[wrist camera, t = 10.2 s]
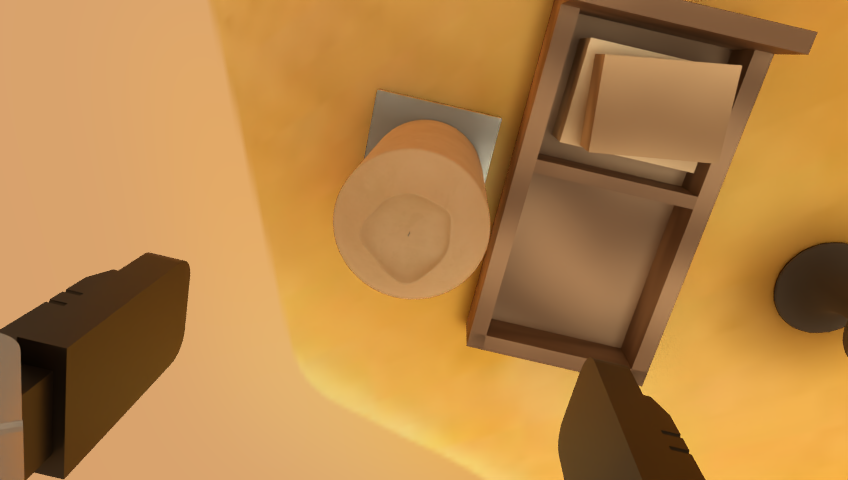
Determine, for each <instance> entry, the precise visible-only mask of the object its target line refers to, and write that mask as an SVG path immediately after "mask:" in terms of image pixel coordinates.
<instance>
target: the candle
mask: <svg viewBox="0 0 848 480" xmlns="http://www.w3.org/2000/svg"><path fill="white" fill-rule="evenodd" d="M333 227H334V235H335V240H336V244H337V246H338V249H339V252H340V254H341V256H342V257H343V259H344V261H345V263H346V264H347V265H348V267H349V268H350V269H351V271H352V272H353V273H354V274H355V275H356V276H357V277H358V278H359V279H360V280H362V281H363V282H364V283H365V284H367V285H368V286H370V287H371V288H373V289H375V290H377V291H379V292H381V293H384V294H387V295H389V296H393V297H397V298H404V299H424V298H431V297H434V296H438V295H441V294H443V293H446V292H448V291H450V290H452V289H454V288H456V287H457V286H459V285H460V284H461V283H463V282H464V281H465V280H466V279H467V278H468V277H469V276H470V275H471V274H472V273H473V272H474V271H475V269H476V268H477V267H478V265H479V264H480V262H481V260H482V259H483V256H484V254H485V252H486V249H487V246H488V242H489V237H490V215H489V208H488V202H487V196H486V189H485V183H484V177H483V171H482V166H481V163H480V159H479V156H478V154H477V152H476V150H475V148H474V146H473V145H472V143H471V142H470V141H469V140H468V138H467V137H466V136H464V135H463V134H462V133H461V132H460V131H458V130H457V129H456V128H454V127H452V126H450V125H448V124H445V123H443V122H439V121H435V120H415V121H410V122H407V123H404V124H402V125H400V126H397V127H396V128H394V129H393V130H391V131H390V132H389V133H388V134H386V135H385V136H384V137H383V138H382V139H381V140H380V141H379V143H378V144H377V145H376V146H375V147H374V148H373V150H372V151H371V152H370V153H369V154H368V155H367V156H366V158H365V159H364V160H363V161H362V162H361V163H360V165H359V166H358V167H357V168H356V169H355V170H354V172H353V173H352V174H351V175H350V176H349V177H348V179H347V180H346V182H345V183H344V185H343V186H342V188H341V191H340V193H339V195H338V198H337V201H336V204H335V209H334V216H333Z"/></svg>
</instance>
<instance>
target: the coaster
mask: <svg viewBox="0 0 848 480" xmlns="http://www.w3.org/2000/svg"><path fill="white" fill-rule="evenodd" d="M415 120H435V121H439V122H443V123H445V124H448V125H450V126H452V127H454V128H456V129H457V130H458V131H460V132H461V133H462V134H463V135H464V136H466V137H467V138H468V140H469V141H470V142H471V143H472V145H473V146H474V148H475V150H476V152H477V154H478V156H479V159H480V163H481V166H482V171H483V177H484V183H485V181H486V178H487V174H488V170H489V166H490V162H491V158H492V155H493V151H494V147H495V143H496V139H497V135H498V132H499V128H500V124H501V120H502V118H501V117H497V116H493V115H489V114H485V113H480V112H476V111H472V110H468V109H463V108H459V107H455V106H450V105H446V104H442V103H438V102H433V101H429V100H425V99H420V98H416V97H412V96H408V95H403V94H399V93H395V92H390V91H386V90H382V89H378V90H377V94H376V99H375V104H374V109H373V115H372V120H371V125H370V130H369V136H368V141H367V146H366V152H365V157H364V159H365V158H366V156H367V155H368V154H369V153H370V152H371V151H372V150H373V148H374V147H375V146H376V145H377V144H378V143H379V141H380V140H381V139H382V138H383V137H384V136H385V135H386V134H388V133H389V132H390V131H391V130H393V129H394V128H396V127H397V126H400V125H402V124H404V123H407V122H410V121H415Z"/></svg>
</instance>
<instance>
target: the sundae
mask: <svg viewBox="0 0 848 480" xmlns="http://www.w3.org/2000/svg"><path fill="white" fill-rule="evenodd" d="M774 301H775V305H776V308H777V310H778V313H779V315H780V316H781V317H782V318H783V319H784V321H785V322H787V323H788V324H789V325H790V326H792V327H794V328H796V329H799V330H801V331H805V332H809V333H822V332H830V331H834V330H837V329H840V328H843V327H845V328H844V332H843V346H844V350H845V353H846V355H847V356H848V244H845V243H824V244H820V245H817V246H814V247H811V248H809V249H807V250H805V251H802V252H801V253H799V254H798V255H797V256H796V257H794V258H793V259H792V260H791V261H790V262H789V263H788V264H787V265H786V266H785V267H784V269H783V270H782V272H781V273H780V275H779V277H778V280H777V282H776V286H775V291H774Z"/></svg>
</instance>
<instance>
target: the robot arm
mask: <svg viewBox="0 0 848 480" xmlns="http://www.w3.org/2000/svg"><path fill="white" fill-rule="evenodd" d="M189 280H190V267H189V264H188V263H187V262H186V261H183V260H179V259H174V258H170V257H166V256H162V255H157V254H153V253H145V254H144V255H142V256H140V257H139V258H137V259H136V260H134V261H133V262H131V263H130V264H128V265H127V266H125V267H123V268H122V269H120V270H119V271H117V270H110V271H107V272H103V273H99V274H96V275H92V276H89V277H86V278H84V279H82V280H81V281H79V282H77V283H76V284H74V285H73V286H71V287H69V288H68V289H66V292H61V293H59V294H58V295H56V296H55V297H53V298H51V299H50V301H49V303H48V302H45V303H43V304H41V305H40V306H38V307H36V308H35V309H33V310H32V311H30V312H28V313H27V314H25V315H23V316H22V317H20V318H18V319H17V320H15V321H13V322H12V323H10V324H9V325H7V326H6V327H4V328H2V329H0V480H27V479H28V478H29V477H30V475H32V473H34V472H35V473H39V474H44V475H47V476H52V477H56V478H61V479H65V477H67V475H68V474H69V473H70V472H71V471H72V470H73V469H74V468H75V467H76V465H78V464H79V462H80V461H81V460H82V459H83V458H84V457H85V456H86V455H87V454H88V453H89V452H90V451H91V449H93V447H94V446H95V445H96V444H97V443H98V442H99V441H100V440H101V439H102V438H103V437H104V436H105V435H106V433H107V432H108V431H109V430H110V429H111V428H112V427H113V426H114V425H115V424H116V423H117V422H118V421H119V419H120V418H121V417H122V416H123V415H124V414H125V413H126V412H127V410H129V409H130V408H131V406H132V405H133V404H134V403H135V402H136V401H137V400H138V399H139V398H140V397H141V396H142V395H143V393H144V392H145V391H146V390H147V389H148V388H149V387H150V386H151V385H152V384H153V383H154V382H155V381H156V380H157V379H158V377H159V376H160V375H161V374H162V373H163V372H164V371H165V370H166V369H167V368H168V367H169V366H170V364H171V363H172V362H173V361H174V359H175V358H176V356H177V354H178V352H179V349H180V347H181V344H182V341H183V337H184V331H185V321H186V311H187V301H188V290H189ZM558 451H559V458H560V462H561V467H562V471H563V476H564V480H705V478H704V476H703V475H702V473H701V471H700V469H699V467H698V466H697V464H696V462H695V460H694V458H693V456H692V455H691V454H689V449H688V447H687V445H686V444H685V442H684V440H683V438H680V433H679V431H678V429H677V427H676V425H675V424H674V422H673V420H672V418H671V416H670V415H669V414H668V413H667V412H666V411H665V410H664V409H663V408H662V407H661V406H660V405H659V404H658V403H656V402H655V401H654V400H653V399H652V398H651V397H649V396H645V395H643V394H642V392H641V390H640V388H639V386H638V384H637V382H636V380H635V378H634V376H633V374H632V372H631V370H630V368H629V367H628V366H625V365H621V364H617V363H613V362H608V361H604V360H600V359H596V358H591V357H589V358H588V359H587V360H586V361H585V362H584V364H583V366H582V368H581V371H580V374H579V377H578V379H577V382H576V385H575V388H574V390H573V393H572V396H571V399H570V401H569V404H568V407H567V410H566V413H565V415H564V418H563V421H562V424H561V428H560V433H559V441H558Z"/></svg>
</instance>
